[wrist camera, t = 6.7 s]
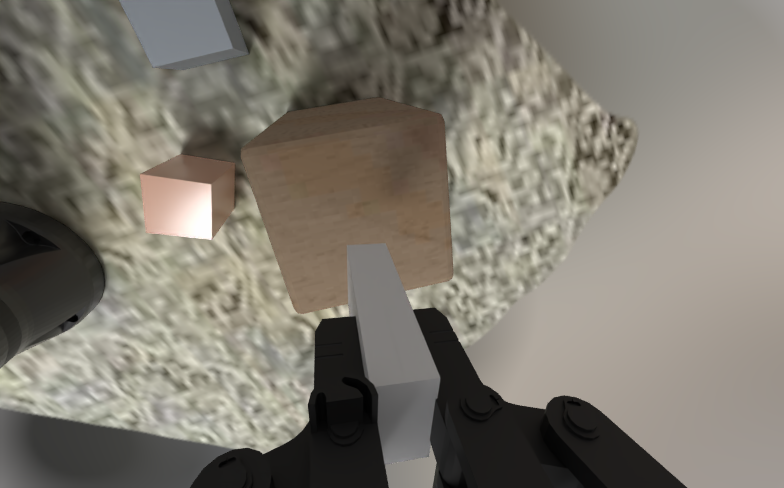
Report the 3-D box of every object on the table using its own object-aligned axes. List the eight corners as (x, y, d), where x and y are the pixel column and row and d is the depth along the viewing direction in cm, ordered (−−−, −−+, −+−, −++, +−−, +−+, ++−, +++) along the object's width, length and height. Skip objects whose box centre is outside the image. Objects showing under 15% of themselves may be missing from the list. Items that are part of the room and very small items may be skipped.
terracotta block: (182, 201, 34) (146, 232, 27) (180, 154, 32) (139, 174, 25) (234, 208, 35) (212, 239, 28) (235, 162, 33) (211, 184, 26)
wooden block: (283, 112, 32) (234, 147, 15) (382, 96, 33) (447, 111, 16) (309, 206, 37) (295, 319, 19) (395, 189, 38) (456, 282, 20)
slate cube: (183, 70, 29) (153, 67, 24) (145, -12, 27) (101, -35, 21) (249, 54, 30) (233, 48, 24) (218, -28, 27) (192, -55, 22)
